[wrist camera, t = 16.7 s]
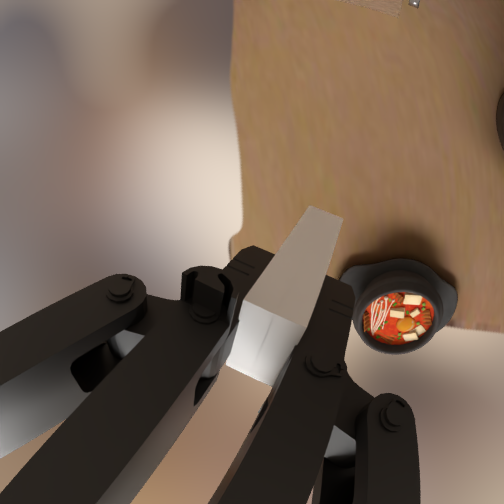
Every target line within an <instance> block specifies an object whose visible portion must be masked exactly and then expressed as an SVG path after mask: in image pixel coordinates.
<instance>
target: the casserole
mask: <svg viewBox="0 0 504 504" xmlns="http://www.w3.org/2000/svg"><path fill="white" fill-rule="evenodd" d="M339 281H341V282H344V283H346V284H348V285H351V286H352V289H353V291H354V294H355V297H356V299H355V305H354V309H353V316H352V319H351V320H353V323H354V327H355V329H356V331H357V333H358V334H359V335H360V337H361V339H362V340H363V341H364V343H366V345H368V346H369V347H370V348H372V349H374V350H376V351H378V352H381V353H385V354H405V353H409V352H412V351H415V350H417V349H419V348H421V347H422V346H424V345H425V344H426V343H427V342H429V341H430V340H431V338H432V337H433V336H434V334H435V333H436V332H438V331H439V330H440V329H442V328H443V327H444V326H445V325H446V324H447V323H448V322H449V320H450V319H451V317H452V316H453V314H454V312H455V309H456V306H457V300H458V297H457V292H456V290H455V288H454V287H453V286H452V285H450V284H449V283H447V282H446V281H444V280H442V279H441V278H440V277H439V276H438V275H437V274H436V273H435V272H434V271H433V270H432V269H431V268H430V267H428V266H427V265H425V264H423V263H422V262H419V261H416V260H412V259H404V258H401V259H391V260H387V261H383V262H379V263H375V264H366V265H354V266H352V267H350V268H348V269H347V270H346V271H345V272H344V273H343V274H342V276H341V278H340V279H339Z"/></svg>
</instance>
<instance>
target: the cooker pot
mask: <svg viewBox="0 0 504 504" xmlns="http://www.w3.org/2000/svg"><path fill="white" fill-rule="evenodd" d="M337 1H342V2H346V3H350V4H354V5H358V6H362V7H365V8H369V9H372V10H376V11H379V12H382V13H385V14H388V15H391V16H394V17H396V18H398V17H399V13H400V9H401V5H402V1H403V0H337ZM419 2H420V0H409V5H410V6H413V7H416V8H418V7H419Z"/></svg>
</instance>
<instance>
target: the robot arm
mask: <svg viewBox="0 0 504 504" xmlns="http://www.w3.org/2000/svg"><path fill="white" fill-rule="evenodd" d="M496 120H497V131H498V136H499V139H500V142H501V145H502V148H503V150H504V94H503V95H502V97H501V99H500V101H499V104H498V108H497V118H496ZM342 221H343V218H340V217H338V216H336V215H333V214H331V213H328V212H326V211H323V210H321V209H318V208H316V207H313V206H311V205H310V206H309V207H308V208H307V210H306V211H305V213H304V214H303V216H302V217H301V219H300V220H299V221H298V223H297V224H296V226H295V227H294V229H293V230H292V232H291V233H290V234H289V236H288V237H287V239H286V240H285V242H284V243H283V244H282V246H281V247H280V249H279V250H278V252H277V253H276V254H273V253H270V252H268V251H266V250H263V249H261V248H258V247H256V246H254V245H253V246H250V247H247V248H245V249H242V250H241V251H240V252H239V253H238V254H237V255H236V256H235V257H234V258H233V260H231V261H230V262H229V263H228V265H227V266H226V267H225V268H224V269H223V270H222V269H219V268H215V267H212V266H197V267H192V268H189V269H188V270H186V271H184V272H183V273H182V282H181V299H180V300H169V299H164V298H160V297H155V296H152V295H148V294H146V286H145V285H144V283H143V282H142V281H141V280H140V279H138V278H137V277H135V276H132V275H128V274H115V275H112V276H109V277H106V278H104V279H102V280H100V281H98V282H96V283H94V284H92V285H90V286H88V287H86V288H84V289H82V290H80V291H78V292H75V293H74V294H72V295H69V296H68V297H65V298H63V299H62V300H60V301H58V302H56V303H54V304H52V305H50V306H48V307H46V308H44V309H42V310H40V311H38V312H36V313H34V314H32V315H31V316H29V317H27V318H25V319H23V320H22V321H20V322H18V323H16V324H14V325H12V326H10V327H8V328H6V329H5V330H3V331H1V332H0V458H2V457H3V456H5V455H7V454H9V453H11V452H12V451H14V450H16V449H18V448H19V447H21V446H23V445H24V444H26V443H28V442H29V441H31V440H33V439H34V438H36V437H38V436H39V435H41V434H43V433H44V432H46V431H47V430H49V429H51V428H52V427H54V426H56V425H57V424H59V423H60V422H62V421H63V420H65V419H66V420H65V421H64V423H62V424H61V426H60V427H59V428H58V429H57V430H56V431H55V432H54V433H53V434H52V436H51V437H50V438H49V439H48V440H47V441H46V442H45V443H44V444H43V446H42V447H41V448H40V449H39V450H38V451H37V452H36V453H35V454H34V456H33V457H32V458H31V459H30V460H29V461H28V462H27V463H26V465H25V466H24V467H23V468H22V469H21V470H20V471H19V472H18V474H17V475H16V476H15V477H14V478H13V480H12V481H11V482H10V483H9V484H8V485H7V486H6V487H5V489H4V490H3V491H2V492H1V493H0V504H130V503H131V502H132V500H133V499H134V498H135V496H136V495H137V494H138V492H139V491H140V490H141V488H142V487H143V486H144V484H145V483H146V482H147V480H148V479H149V478H150V476H151V475H152V473H153V472H154V471H155V469H156V468H157V466H158V465H159V464H160V462H161V461H162V459H163V458H164V457H165V455H166V454H167V452H168V451H169V449H170V448H171V447H172V445H173V444H174V443H175V441H176V440H177V438H178V437H179V435H180V434H181V433H182V431H183V430H184V428H185V427H186V425H187V424H188V422H189V421H190V419H191V418H192V416H193V415H194V413H195V412H196V410H197V409H198V407H199V406H200V404H201V403H202V401H203V400H204V398H205V397H206V395H207V394H208V392H209V391H210V389H211V388H212V386H213V385H214V383H215V382H216V380H217V377H218V375H219V371H220V369H221V367H222V366H223V364H224V363H225V361H226V360H227V362H226V365H227V366H229V367H231V368H233V369H235V370H237V371H239V372H241V373H243V374H245V375H248V376H250V377H252V378H254V379H256V380H258V381H260V382H263V383H265V384H267V385H269V386H272V390H271V392H270V394H269V396H268V397H267V399H266V401H265V402H264V404H263V405H262V407H261V408H260V410H259V411H258V413H259V414H258V416H257V418H256V420H255V422H254V424H253V425H252V428H251V429H250V431H249V433H248V435H247V437H246V439H245V441H244V442H243V444H242V446H241V448H240V450H239V452H238V453H237V455H236V457H235V459H234V461H233V462H232V464H231V466H230V468H229V469H228V471H227V473H226V475H225V476H224V478H223V480H222V481H221V483H220V485H219V486H218V488H217V490H216V491H215V493H214V495H213V496H212V498H211V499H210V501H209V503H208V504H306V503H307V501H308V498H309V496H310V493H311V491H312V488H313V486H314V489H313V497H312V504H420V470H419V455H418V443H417V434H416V425H415V418H414V415H413V412H412V409H411V407H410V406H409V404H408V403H407V402H406V401H405V400H404V399H403V398H401V397H400V396H398V395H395V394H392V393H385V394H380V395H378V396H377V397H375V398H374V397H373V396H372V395H370V394H369V393H367V392H366V391H365V390H363V389H362V388H361V387H359V386H358V385H357V384H356V383H355V382H354V381H353V380H352V379H351V377H350V376H349V374H348V372H347V366H346V363H345V361H344V357H345V351H346V346H347V341H348V337H349V332H350V327H351V321H352V320H351V319H352V316H353V309H354V305H355V299H356V297H355V294H354V291H353V289H352V286H351V285H348V284H346V283H344V282H341V281H339V280H337V279H334V278H332V277H330V276H327V275H326V273H327V270H328V267H329V263H330V260H331V257H332V254H333V251H334V248H335V245H336V241H337V238H338V235H339V232H340V228H341V225H342Z"/></svg>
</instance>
